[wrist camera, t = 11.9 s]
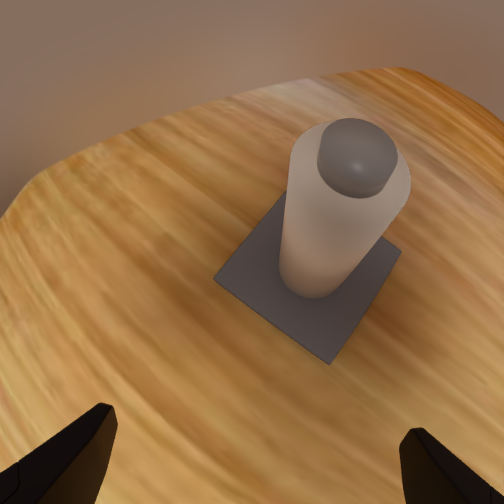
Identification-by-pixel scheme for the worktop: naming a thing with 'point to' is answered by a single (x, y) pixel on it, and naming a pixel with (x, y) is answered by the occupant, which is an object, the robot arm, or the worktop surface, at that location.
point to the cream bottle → (338, 202)
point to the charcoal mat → (294, 306)
